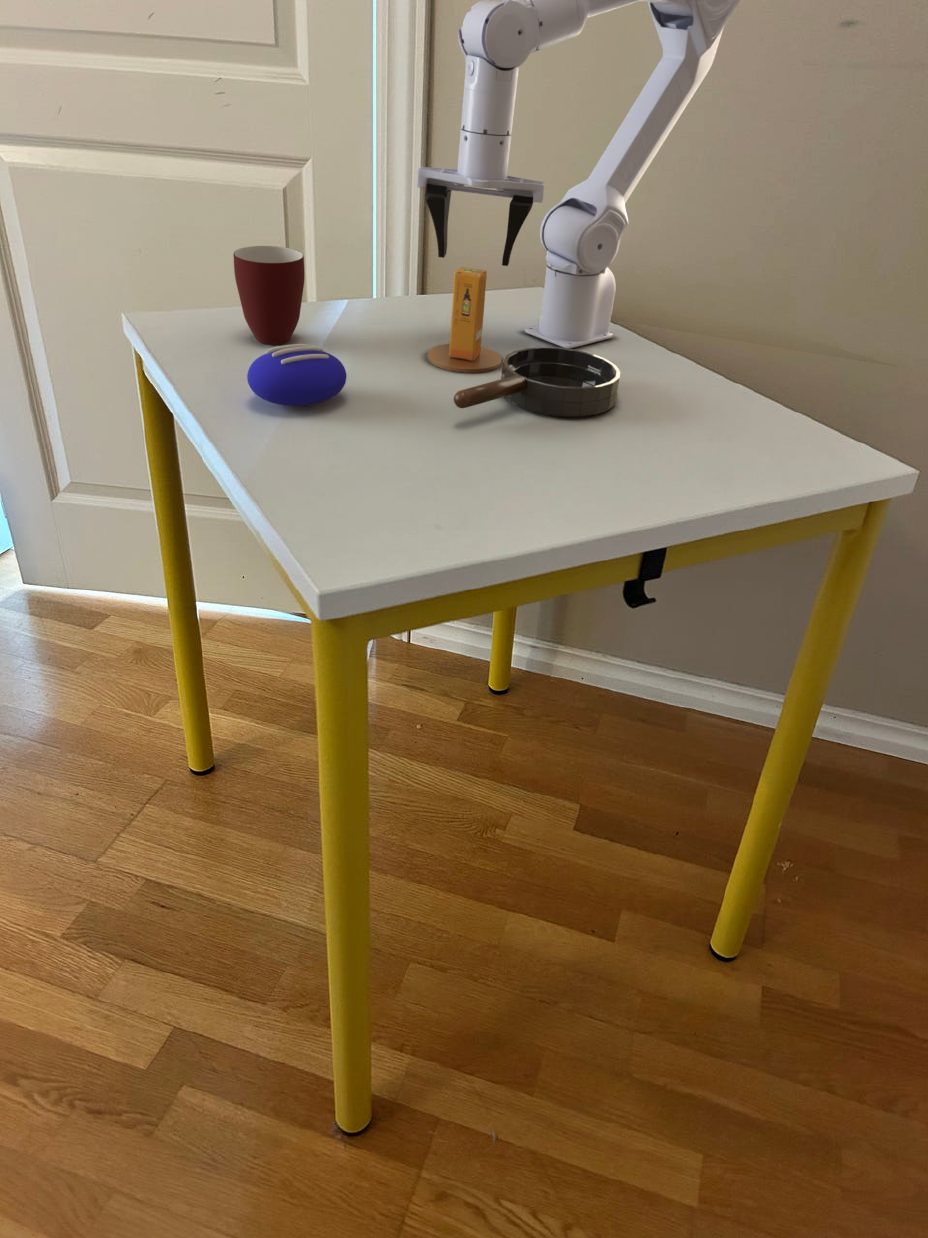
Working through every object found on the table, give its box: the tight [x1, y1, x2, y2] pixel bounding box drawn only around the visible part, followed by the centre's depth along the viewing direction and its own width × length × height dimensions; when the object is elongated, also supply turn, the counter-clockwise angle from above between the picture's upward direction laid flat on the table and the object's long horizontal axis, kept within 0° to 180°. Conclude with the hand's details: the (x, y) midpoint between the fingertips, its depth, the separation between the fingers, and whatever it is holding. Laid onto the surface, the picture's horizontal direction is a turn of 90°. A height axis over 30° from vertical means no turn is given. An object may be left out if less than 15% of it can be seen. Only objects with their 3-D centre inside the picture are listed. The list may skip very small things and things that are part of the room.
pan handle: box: [453, 375, 526, 409], centre depth 92 cm, size 10×2×2 cm, turn 133°
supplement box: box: [449, 266, 488, 361], centre depth 104 cm, size 3×3×10 cm
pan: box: [500, 346, 621, 418], centre depth 99 cm, size 13×13×4 cm
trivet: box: [427, 343, 502, 374], centre depth 107 cm, size 9×9×1 cm
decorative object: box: [246, 343, 348, 407], centre depth 92 cm, size 10×6×10 cm
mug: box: [232, 245, 306, 346], centre depth 106 cm, size 11×8×10 cm
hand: (473, 259), depth 106 cm, fingers open, 7 cm apart
